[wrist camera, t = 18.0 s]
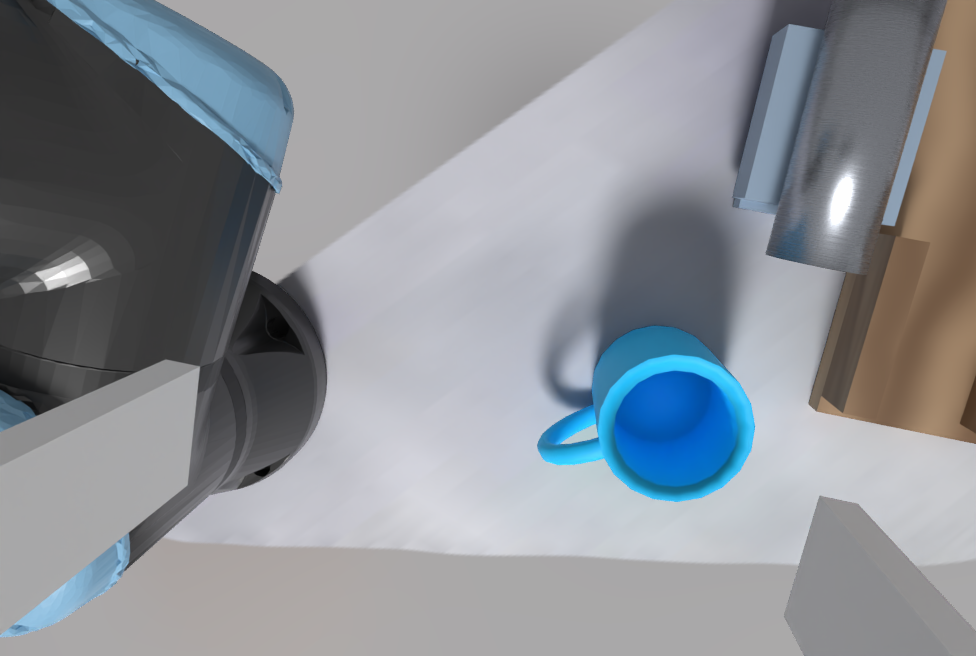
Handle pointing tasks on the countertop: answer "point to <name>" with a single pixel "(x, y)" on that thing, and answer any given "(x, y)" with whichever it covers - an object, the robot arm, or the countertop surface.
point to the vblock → (782, 117)
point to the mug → (660, 417)
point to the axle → (854, 131)
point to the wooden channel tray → (919, 276)
